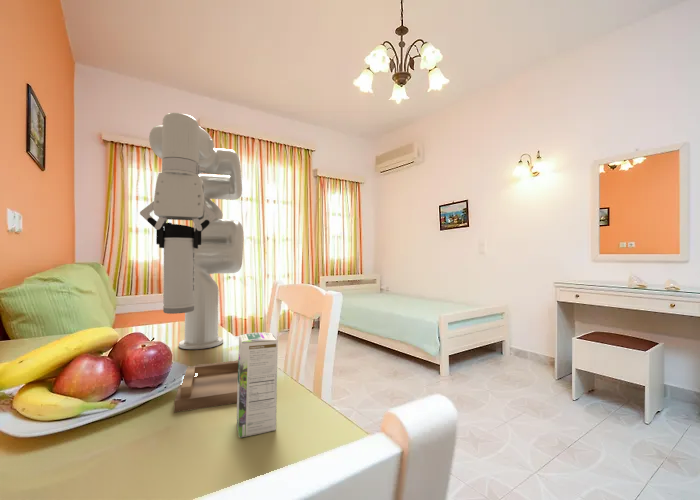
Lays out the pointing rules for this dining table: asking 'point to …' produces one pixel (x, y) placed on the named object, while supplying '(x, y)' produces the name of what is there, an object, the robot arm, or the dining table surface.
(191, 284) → the travel mug
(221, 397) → the stand
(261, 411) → the syrup box
